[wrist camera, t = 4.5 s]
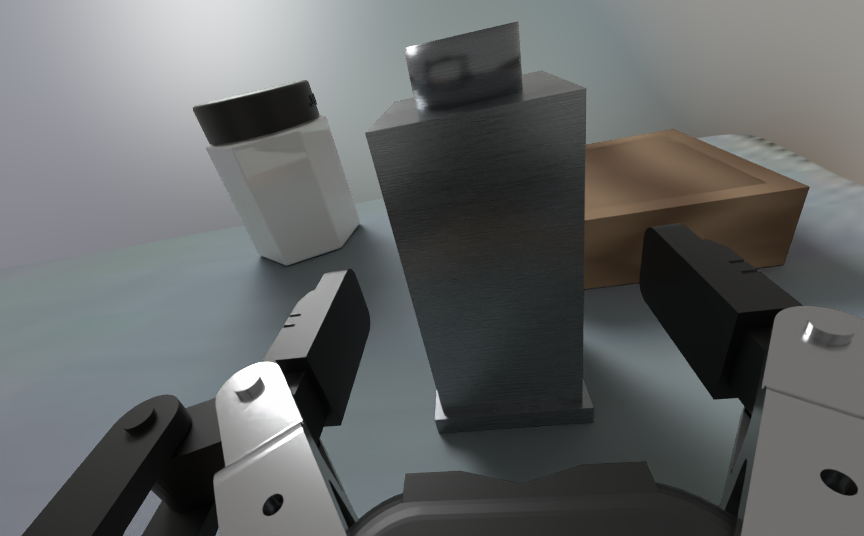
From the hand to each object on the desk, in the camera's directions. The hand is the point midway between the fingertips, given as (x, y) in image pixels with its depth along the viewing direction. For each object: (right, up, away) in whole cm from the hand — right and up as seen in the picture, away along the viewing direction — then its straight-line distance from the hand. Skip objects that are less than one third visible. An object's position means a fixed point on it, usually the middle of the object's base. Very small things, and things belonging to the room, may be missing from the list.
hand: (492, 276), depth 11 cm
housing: (+1, -4, +5) cm, 7 cm away
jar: (-12, +3, +22) cm, 26 cm away
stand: (+10, +3, +14) cm, 17 cm away
